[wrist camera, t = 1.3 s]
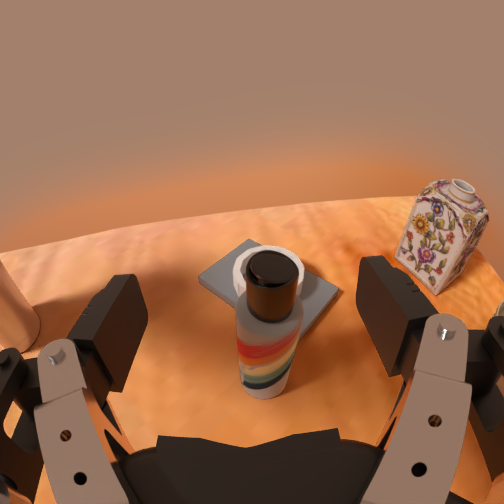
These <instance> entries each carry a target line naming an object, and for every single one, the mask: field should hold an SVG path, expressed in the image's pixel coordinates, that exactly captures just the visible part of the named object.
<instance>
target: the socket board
mask: <svg viewBox="0 0 504 504" xmlns="http://www.w3.org/2000/svg"><path fill="white" fill-rule="evenodd" d="M264 250H273V251H277V252H280V253H282V254H284V255H286V256H288V257H289V258H290V259H292V260H293V261H294V262H295V264H296V265H297V267H298V269H299V279H298V285H297V291H296V294H297V295H298V296H299V298H300V299H301V301H302V304H303V308H304V315H303V321H302V325H301V330H300V334H299V338H298V341H299V340H300V339H301V338H302V336H303V335H304V334H305V333H306V332H307V331H308V329H309V328H310V327H311V326H312V325H313V323H314V322H315V321H316V320H317V319H318V317H319V316H320V315H321V314H322V312H323V311H324V310H325V309H326V307H327V306H328V305H329V304H330V302H331V301H332V300H333V299H334V297H335V296H336V295H337V292H338V289H339V288H338V287H336V286H334V285H333V284H331V283H329V282H327V281H325V280H324V279H322V278H320V277H318V276H316V275H315V274H313V273H311V272H309V271H307V270H305V269H304V265H303V264H302V262H301V261H300V259H299V258H298V256H297V255H296V254H294V253H292V252H290V251H288V250H287V249H285V248H283V247H282V248H281V247H277V246H269V245H263V246H262V245H260V244H258V243H256V242H254V241H253V240H251V239H248V240H246V241H245V242H244V243H242V244H241V245H240V246H238V247H237V248H236V249H234V250H233V251H231V252H230V253H229V254H227V255H226V256H225V257H223V258H222V259H221V260H219V261H218V262H217V263H215V264H214V265H213V266H211V267H210V268H209V269H207V270H206V271H204V272H203V273H202V274H200V275H199V276H198V279H199V283H200V284H202V285H203V286H204V287H206V288H207V289H208V290H210V291H211V292H213V293H214V294H215V295H217V296H218V297H219V298H221V299H222V300H224V301H225V302H226V303H228V304H229V305H231V306H232V307H233V308H236V303H237V301H238V299H239V297H240V295H241V294H242V293H243V292H244V291H246V266H247V263H248V261H249V259H250V258H251V257H252V256H253V255H254V254H256V253H258V252H260V251H264Z"/></svg>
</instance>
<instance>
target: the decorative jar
mask: <svg viewBox="0 0 504 504" xmlns="http://www.w3.org/2000/svg"><path fill="white" fill-rule="evenodd" d="M488 221H489V216H488V211H487V209H486V207H485V205H484V203H483V201H482V200H481V199H480V198H479V197H478V196H477V195H476V194H475V189H474V188H473V187H472V186H471V185H469V184H468V183H466V182H465V181H462V180H459V179H453V180H452V181H448V180H444V179H439V180H435V181H432V182H431V183H430V184H429V185H428V186H427V187H426V188H424V189H423V191H422V192H421V193H420V194H419V195H417V197H416V200H415V203H414V206H413V208H412V211H411V213H410V216H409V219H408V221H407V224H406V226H405V229H404V232H403V234H402V237H401V240H400V242H399V245H398V248H397V251H396V253H395V255H394V257H395V258H396V259H397V260H398V261H399V262H400V263H401V264H402V265H404V266H405V267H406V268H407V269H408V270H409V271H410V272H411V273H412V274H413V275H414V276H415V277H416V278H418V279H419V280H420V281H421V282H422V283H423V284H424V285H425V286H426V287H427V288H428V289H429V290H430V291H431V292H432V293H433V294H434V295H438V294H439V293H440V292H441V291H442V290H444V289H445V288H446V287H447V286H448V285H449V284H450V283H451V282H452V281H453V280H454V279H455V278H457V277H458V276H459V275H460V274H461V273H462V271H463V270H464V268H465V267H466V265H467V263H468V261H469V260H470V258H471V256H472V254H473V252H474V250H475V248H476V246H477V244H478V242H479V240H480V238H481V236H482V234H483V232H484V230H485V227H486V226H487V223H488Z"/></svg>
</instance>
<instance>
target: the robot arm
mask: <svg viewBox="0 0 504 504" xmlns="http://www.w3.org/2000/svg"><path fill="white" fill-rule="evenodd" d="M356 305H357V309H358V312H359V314H360V316H361V318H362V320H363V322H364V324H365V326H366V328H367V330H368V332H369V334H370V336H371V338H372V341H373V343H374V345H375V347H376V349H377V351H378V353H379V356H380V358H381V360H382V362H383V364H384V367H385V369H386V371H387V373H388V376H389V377H392V376H396V375H400V374H402V377H403V379H404V380H403V382H402V384H401V387H400V390H399V392H398V395H397V398H396V400H395V403H394V405H393V408H392V410H391V413H390V415H389V418H388V420H387V422H386V425H385V427H384V429H383V431H382V433H381V435H380V437H379V439H378V441H377V443H376V445H375V446H373V445H370V444H367V443H364V442H359V441H355V440H348V439H340V436H339V431H338V428H335V429H329V430H323V431H316V432H309V433H301V434H293V435H290V436H287V437H284V438H281V439H277V440H274V441H271V442H267V443H264V444H260V445H257V446H253V447H248V448H243V447H237V446H232V445H227V444H223V443H218V442H214V441H210V440H206V439H202V438H188V437H172V436H160V435H158V439H157V444H156V447H151V448H147V449H142V450H140V451H137V452H135V450H134V449H133V447H132V446H131V444H130V443H129V441H128V439H127V437H126V435H125V433H124V431H123V429H122V427H121V425H120V423H119V421H118V419H117V417H116V414H115V412H114V410H113V408H112V406H111V403H110V401H109V400H108V398H107V395H108V393H109V391H112V392H121V393H122V391H123V388H124V385H125V382H126V380H127V377H128V374H129V371H130V368H131V366H132V363H133V360H134V357H135V355H136V352H137V349H138V347H139V344H140V342H141V339H142V336H143V334H144V331H145V329H146V326H147V322H148V313H147V308H146V305H145V302H144V299H143V296H142V293H141V289H140V286H139V283H138V280H137V277H136V276H135V275H134V274H124V275H114V276H113V277H112V279H111V280H110V282H109V283H108V285H107V286H106V288H105V289H102V290H101V291H100V292H99V293H97V294H96V295H95V296H94V297H93V298H92V300H91V301H90V302H89V304H88V305H87V308H85V310H84V311H83V313H82V314H83V315H81V316H80V317H79V319H78V320H77V322H76V324H75V325H74V327H73V328H72V330H71V331H70V333H69V335H68V336H67V338H66V339H58V340H54V341H52V342H50V343H49V344H47V345H46V346H45V347H44V348H43V349H42V350H41V351H40V353H39V355H38V357H37V358H31V359H25V360H24V358H23V357H22V355H21V354H20V353H22V352H24V351H26V350H27V349H28V348H29V347H30V346H31V345H32V344H33V343H34V342H35V340H36V338H37V336H38V334H39V330H40V319H39V317H38V315H37V314H36V312H35V311H34V310H33V308H32V307H31V306H30V304H29V303H28V302H27V300H26V299H25V297H24V296H23V294H22V293H21V292H20V290H19V289H18V287H17V286H16V284H15V283H14V281H13V280H12V278H11V277H10V275H9V273H8V272H7V270H6V269H5V267H4V265H3V264H2V262H1V260H0V344H1V345H2V346H3V347H4V348H5V349H4V350H2V351H1V352H0V504H34V500H35V496H36V492H37V488H38V484H39V480H40V476H41V472H42V469H43V465H44V464H45V468H46V471H47V475H48V478H49V482H50V485H51V488H52V491H53V494H54V497H55V500H56V502H57V504H473V503H471V502H469V501H467V500H466V499H464V498H462V497H460V496H458V495H456V494H454V493H453V492H451V491H449V490H450V488H451V484H452V481H453V478H454V475H455V472H456V468H457V465H458V461H459V457H460V453H461V449H462V445H463V440H464V436H465V431H466V426H467V420H468V418H469V420H470V423H471V425H472V428H473V430H474V432H475V435H476V437H477V440H478V442H479V445H480V448H481V450H482V453H483V456H484V458H485V461H486V464H487V467H488V470H489V473H490V476H491V479H492V482H493V483H492V485H491V488H490V493H489V494H488V495H487V497H486V499H485V504H504V397H503V395H502V393H501V391H500V390H499V388H498V386H497V384H496V383H497V382H498V380H499V379H500V377H501V376H502V375H503V377H504V316H495V317H492V318H491V319H490V321H489V323H488V325H487V327H486V329H485V330H468V329H467V327H466V325H465V324H464V323H463V322H462V321H461V320H460V319H458V318H456V317H454V316H452V315H449V314H439V313H438V311H437V310H436V309H435V308H434V306H433V305H432V304H431V302H430V301H429V300H428V299H427V297H426V296H425V295H424V294H423V293H422V291H421V292H420V289H419V288H418V286H417V285H416V284H414V282H413V280H412V279H411V278H410V277H409V276H408V274H406V273H404V272H403V271H401V270H399V269H398V268H393V267H392V266H391V265H390V263H389V262H388V261H387V260H386V259H385V257H384V256H382V255H380V256H370V257H362V258H361V261H360V266H359V275H358V283H357V291H356ZM12 401H14V402H15V403H16V404H17V406H18V407H19V408H20V409H21V410H22V414H21V416H20V418H19V421H18V423H17V426H16V428H15V431H14V433H13V436H12V438H11V439H10V438H9V437H8V436H7V435H6V433H5V431H4V427H3V422H4V419H5V417H6V414H7V412H8V410H9V408H10V406H11V404H12Z"/></svg>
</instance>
